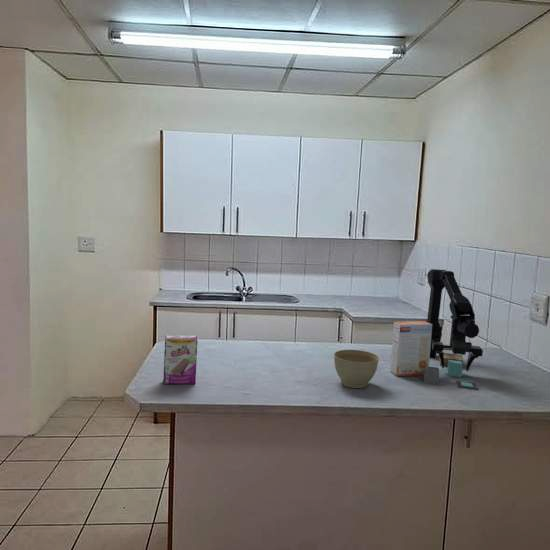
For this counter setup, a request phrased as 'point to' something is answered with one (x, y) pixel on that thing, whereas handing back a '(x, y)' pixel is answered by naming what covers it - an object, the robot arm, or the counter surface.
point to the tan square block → (451, 358)
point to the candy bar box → (180, 359)
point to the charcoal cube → (431, 375)
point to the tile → (466, 385)
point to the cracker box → (410, 348)
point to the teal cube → (455, 368)
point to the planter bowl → (355, 367)
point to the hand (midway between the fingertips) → (454, 369)
